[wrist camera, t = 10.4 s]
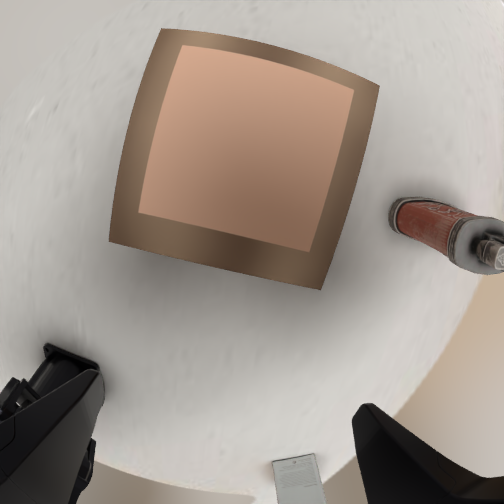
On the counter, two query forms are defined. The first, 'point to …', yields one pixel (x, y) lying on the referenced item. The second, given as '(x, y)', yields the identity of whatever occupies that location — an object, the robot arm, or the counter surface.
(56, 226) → the counter surface
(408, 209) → the lighter
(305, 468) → the small box
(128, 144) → the plate
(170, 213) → the terracotta block
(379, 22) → the counter surface
